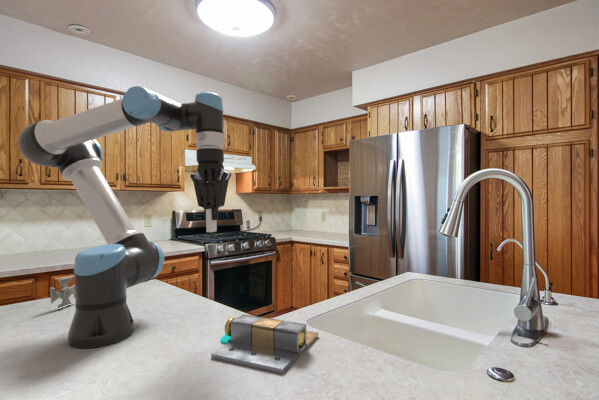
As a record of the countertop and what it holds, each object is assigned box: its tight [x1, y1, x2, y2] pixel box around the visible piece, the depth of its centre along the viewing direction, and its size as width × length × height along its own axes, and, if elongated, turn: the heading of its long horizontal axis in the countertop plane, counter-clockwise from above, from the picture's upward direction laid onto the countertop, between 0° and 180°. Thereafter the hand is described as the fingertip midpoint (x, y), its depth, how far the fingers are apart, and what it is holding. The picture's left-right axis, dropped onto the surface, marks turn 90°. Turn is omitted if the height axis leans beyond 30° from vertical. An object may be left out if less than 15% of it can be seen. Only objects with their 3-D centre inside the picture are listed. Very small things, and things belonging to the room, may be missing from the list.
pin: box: [224, 317, 305, 346], centre depth 82 cm, size 20×4×4 cm, turn 66°
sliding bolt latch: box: [210, 314, 319, 375], centre depth 82 cm, size 18×20×6 cm
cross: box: [49, 275, 75, 308], centre depth 114 cm, size 10×3×10 cm, turn 166°
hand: (211, 231), depth 97 cm, fingers closed
